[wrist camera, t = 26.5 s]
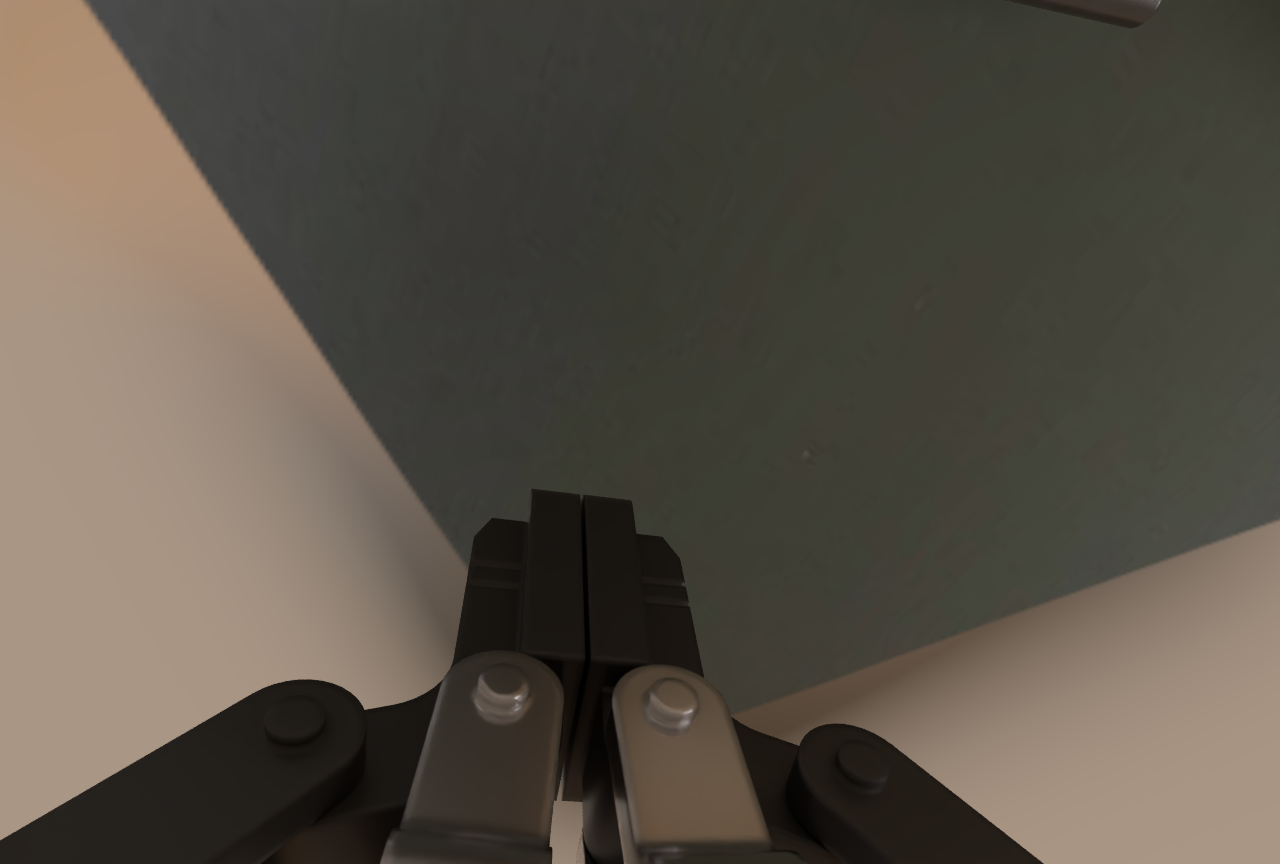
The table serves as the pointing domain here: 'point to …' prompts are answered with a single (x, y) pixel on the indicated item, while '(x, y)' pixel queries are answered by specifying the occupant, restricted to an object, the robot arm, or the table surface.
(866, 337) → the table surface
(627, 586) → the robot arm
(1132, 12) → the drawer
